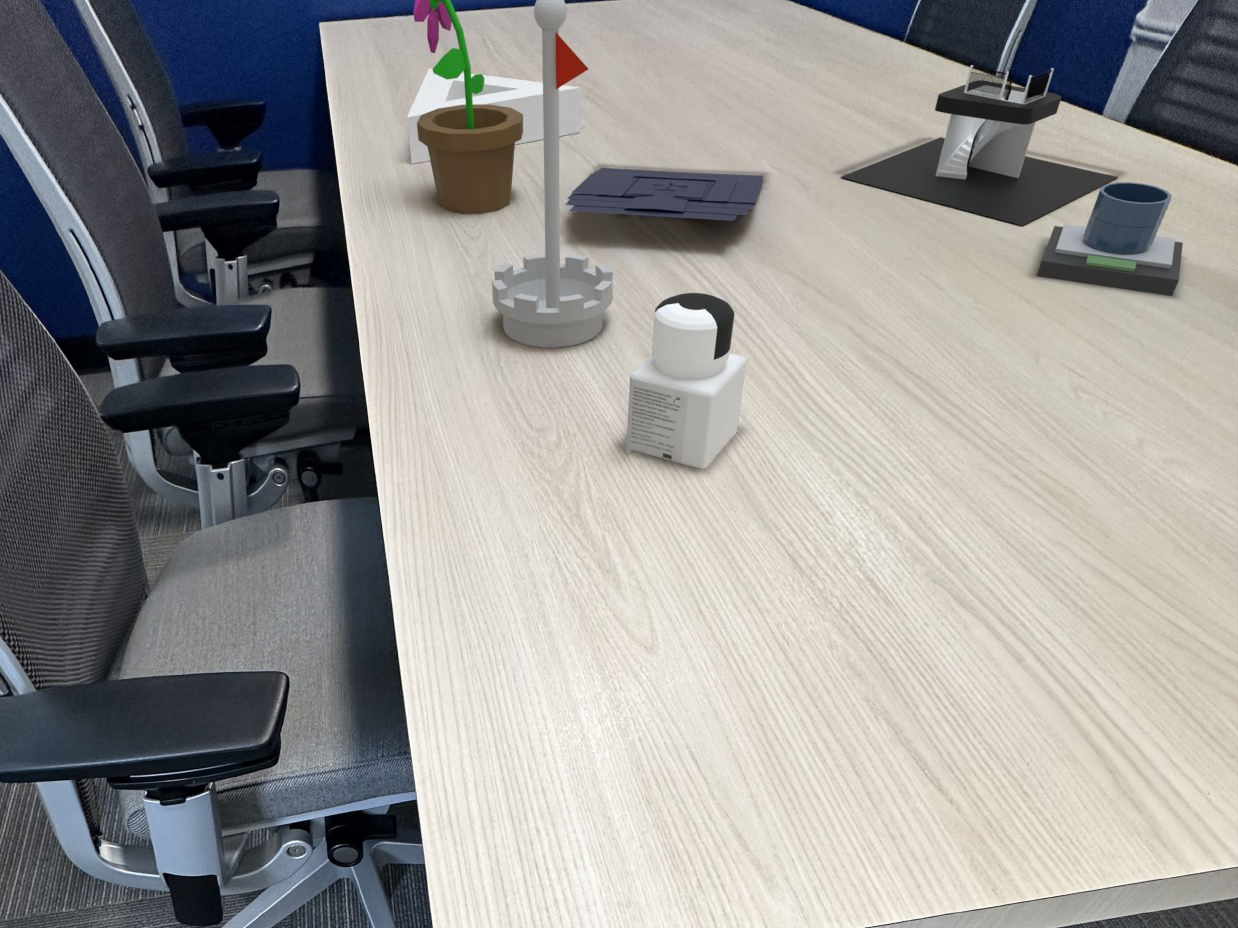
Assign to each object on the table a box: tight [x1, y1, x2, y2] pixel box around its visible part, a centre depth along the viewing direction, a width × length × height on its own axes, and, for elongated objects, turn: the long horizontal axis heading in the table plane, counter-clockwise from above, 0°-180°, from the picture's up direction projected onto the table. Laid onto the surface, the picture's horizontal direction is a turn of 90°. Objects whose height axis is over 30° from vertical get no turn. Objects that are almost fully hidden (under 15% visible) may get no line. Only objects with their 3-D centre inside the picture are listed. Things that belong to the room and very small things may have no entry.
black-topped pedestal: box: [840, 64, 1119, 226], centre depth 132 cm, size 28×26×13 cm
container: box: [625, 292, 748, 470], centre depth 83 cm, size 8×8×13 cm
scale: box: [1036, 223, 1184, 297], centre depth 111 cm, size 14×12×3 cm
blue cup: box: [1083, 181, 1172, 254], centre depth 109 cm, size 7×7×5 cm
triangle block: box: [406, 67, 582, 165], centre depth 155 cm, size 30×26×6 cm
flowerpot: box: [412, 0, 523, 214], centre depth 125 cm, size 14×14×30 cm
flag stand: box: [491, 0, 614, 349], centre depth 95 cm, size 13×13×30 cm
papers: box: [565, 167, 764, 222], centre depth 130 cm, size 24×30×4 cm
